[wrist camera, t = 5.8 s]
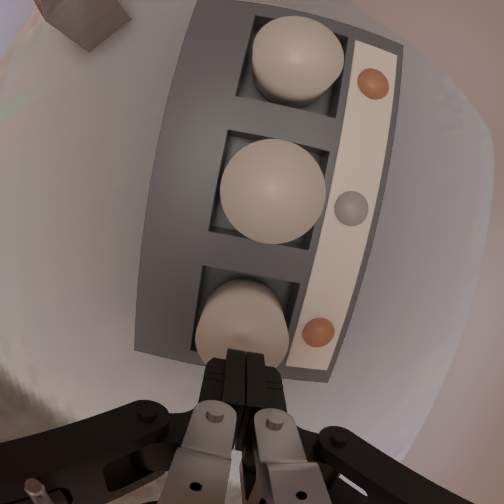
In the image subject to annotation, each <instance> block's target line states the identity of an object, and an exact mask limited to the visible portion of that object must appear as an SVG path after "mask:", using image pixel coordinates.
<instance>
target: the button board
mask: <svg viewBox="0 0 504 504" xmlns="http://www.w3.org/2000/svg"><path fill="white" fill-rule="evenodd" d="M286 16H301V17H306V18H310V19H313V20H315V21H317V22H319V23H321V24H323V25H324V26H326V27H327V28H328V29H329V30H330V31H332V33H333V34H334V35H335V36H336V37H337V39H338V40H339V42H340V44H341V46H342V49H343V53H344V64H343V69H342V71H341V73H340V75H339V77H338V78H337V79H336V80H335V81H334V82H333V84H332V85H331V86H330V87H329V88H328V89H327V90H326V91H325V93H324V94H323V95H322V96H321V97H320V98H319V99H318V100H316V101H315V102H313V103H311V104H309V105H305V106H301V107H288V106H283V105H279V104H277V103H274V102H272V101H271V100H269V99H268V98H266V97H265V96H264V95H263V94H262V93H261V92H260V91H259V90H258V88H257V87H256V85H255V83H254V80H253V76H252V54H253V43H254V40H255V37H256V35H257V33H258V32H259V31H260V29H261V28H262V27H263V26H264V25H266V24H267V23H269V22H271V21H272V20H275V19H277V18H281V17H286ZM402 58H403V45H401V44H399V43H396V42H394V41H392V40H389V39H387V38H384V37H382V36H379V35H376V34H374V33H371V32H368V31H365V30H363V29H360V28H357V27H354V26H351V25H348V24H344V23H341V22H338V21H334V20H331V19H327V18H324V17H320V16H316V15H312V14H308V13H304V12H300V11H295V10H291V9H286V8H281V7H276V6H270V5H264V4H258V3H251V2H244V1H236V0H197V3H196V5H195V8H194V11H193V14H192V17H191V20H190V23H189V26H188V29H187V32H186V35H185V38H184V42H183V45H182V48H181V52H180V55H179V58H178V62H177V65H176V69H175V73H174V76H173V80H172V84H171V88H170V92H169V96H168V100H167V104H166V108H165V112H164V116H163V121H162V125H161V130H160V135H159V139H158V144H157V149H156V154H155V160H154V165H153V171H152V176H151V182H150V188H149V194H148V201H147V208H146V215H145V222H144V230H143V238H142V246H141V255H140V265H139V276H138V288H137V302H136V319H135V343H134V350H136V351H140V352H144V353H148V354H152V355H156V356H160V357H164V358H169V359H173V360H178V361H182V362H187V363H192V364H197V365H202V366H206V364H205V363H204V362H203V361H202V359H201V358H200V356H199V354H198V351H197V348H196V343H195V334H196V330H197V326H198V323H199V320H200V317H201V314H202V311H203V308H204V306H205V303H206V300H207V298H208V297H209V295H210V294H211V293H212V291H213V290H214V289H216V288H217V287H218V286H220V285H221V284H223V283H225V282H228V281H231V280H235V279H250V280H254V281H258V282H260V283H262V284H264V285H266V286H267V287H268V288H270V289H271V290H272V291H273V292H274V293H275V295H276V296H277V298H278V299H279V301H280V304H281V307H282V311H283V315H284V319H285V322H286V326H287V330H288V334H289V346H288V350H287V353H286V355H285V357H284V359H283V360H282V362H281V363H280V364H279V365H278V366H277V367H276V369H277V371H278V372H279V373H280V374H281V378H285V379H293V380H303V381H313V382H325V383H328V381H329V378H330V376H331V373H332V370H333V368H334V365H335V362H336V360H337V357H338V354H339V351H340V349H341V346H342V343H343V340H344V337H345V334H346V331H347V328H348V325H349V322H350V319H351V316H352V313H353V310H354V307H355V303H356V300H357V297H358V294H359V290H360V287H361V284H362V280H363V277H364V273H365V269H366V266H367V262H368V258H369V255H370V251H371V247H372V243H373V239H374V235H375V231H376V227H377V222H378V218H379V214H380V209H381V205H382V200H383V195H384V190H385V185H386V180H387V175H388V169H389V164H390V158H391V152H392V146H393V140H394V133H395V126H396V118H397V111H398V102H399V93H400V83H401V72H402ZM264 139H281V140H286V141H289V142H292V143H294V144H297V145H298V146H300V147H302V148H303V149H305V150H306V151H307V152H308V153H309V154H310V155H311V156H312V157H313V158H314V159H315V161H316V162H317V163H318V165H319V167H320V169H321V171H322V173H323V176H324V180H325V187H326V197H325V203H324V207H323V210H322V212H321V215H320V216H319V218H318V220H317V221H316V223H315V224H314V225H313V227H312V228H311V229H309V230H308V231H307V232H306V233H305V234H303V235H302V236H300V237H299V238H297V239H294V240H292V241H289V242H286V243H280V244H266V243H261V242H257V241H254V240H252V239H250V238H248V237H246V236H244V235H243V234H241V233H240V232H239V231H238V230H237V229H236V228H235V227H234V226H233V225H232V224H231V223H230V221H229V220H228V218H227V216H226V215H225V212H224V210H223V207H222V203H221V198H220V185H221V179H222V175H223V173H224V170H225V168H226V166H227V164H228V163H229V161H230V160H231V159H232V157H233V156H234V155H235V154H236V153H237V152H238V151H240V150H241V149H242V148H244V147H245V146H247V145H249V144H251V143H254V142H256V141H260V140H264Z"/></svg>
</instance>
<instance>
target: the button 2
mask: <svg viewBox="0 0 504 504" xmlns="http://www.w3.org/2000/svg"><path fill="white" fill-rule="evenodd" d="M343 64H344V53H343V49H342V46H341V44H340V42H339V40H338V39H337V37H336V36H335V35H334V34H333V33H332V31H330V30H329V29H328V28H327V27H326V26H324V25H323V24H321V23H319V22H317V21H315V20H313V19H310V18H306V17H301V16H286V17H281V18H277V19H275V20H272V21H271V22H269V23H267V24H266V25H264V26H263V27H262V28H261V29H260V31H259V32H258V33H257V35H256V37H255V40H254V43H253V54H252V76H253V80H254V83H255V85H256V87H257V88H258V90H259V91H260V92H261V93H262V94H263V95H264V96H265V97H266V98H268V99H269V100H271V101H272V102H274V103H277V104H279V105H283V106H288V107H301V106H305V105H309V104H311V103H313V102H315V101H316V100H318V99H319V98H320V97H321V96H322V95H323V94H324V93H325V91H326V90H327V89H328V88H329V87H330V86H331V85H332V84H333V82H334V81H335V80H336V79H337V78H338V77H339V75H340V73H341V71H342V69H343Z"/></svg>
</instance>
